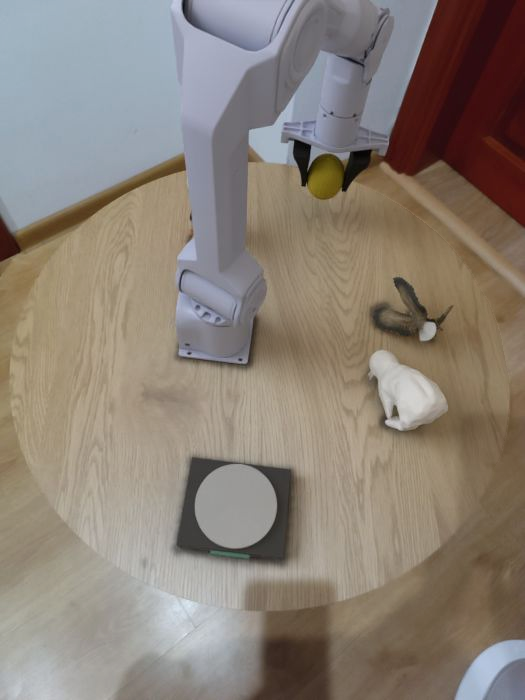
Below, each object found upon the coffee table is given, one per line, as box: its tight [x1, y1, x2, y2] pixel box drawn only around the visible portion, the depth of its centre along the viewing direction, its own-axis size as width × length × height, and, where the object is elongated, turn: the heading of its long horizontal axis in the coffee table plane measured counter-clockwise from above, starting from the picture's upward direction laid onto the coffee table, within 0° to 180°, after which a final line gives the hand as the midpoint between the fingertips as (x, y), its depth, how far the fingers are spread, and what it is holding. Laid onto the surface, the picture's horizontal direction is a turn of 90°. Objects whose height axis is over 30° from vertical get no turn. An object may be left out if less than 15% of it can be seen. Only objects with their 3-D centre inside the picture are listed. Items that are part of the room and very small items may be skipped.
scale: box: [176, 456, 292, 561], centre depth 59 cm, size 12×10×3 cm
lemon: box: [306, 152, 345, 201], centre depth 75 cm, size 6×6×8 cm
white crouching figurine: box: [366, 349, 449, 432], centre depth 65 cm, size 6×8×12 cm
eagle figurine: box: [372, 276, 455, 342], centre depth 71 cm, size 8×7×9 cm
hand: (324, 184), depth 76 cm, fingers closed on lemon, 5 cm apart
